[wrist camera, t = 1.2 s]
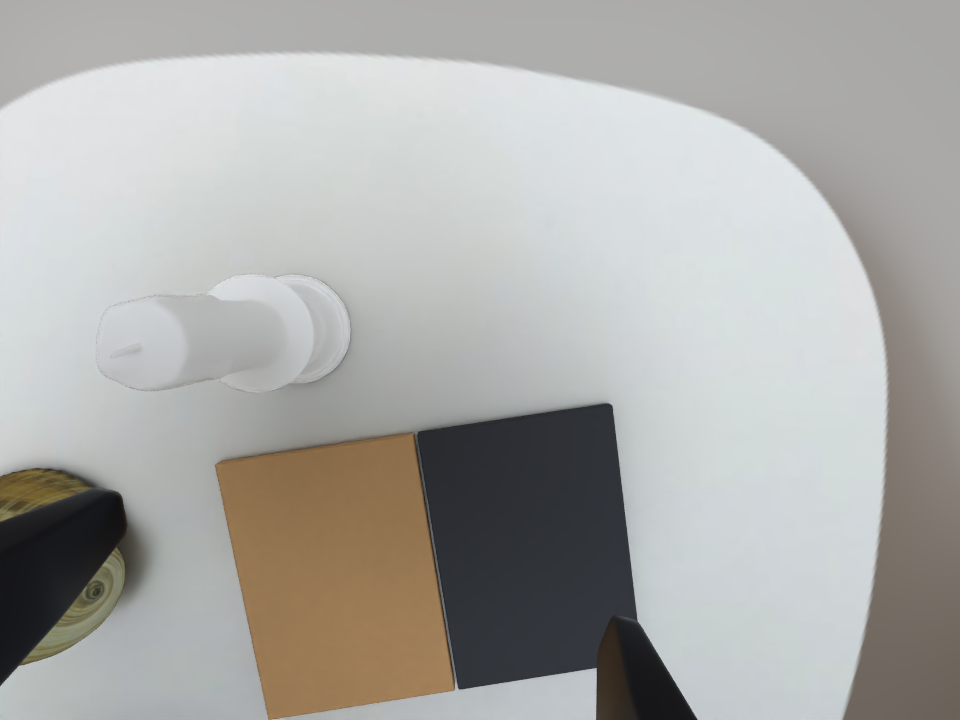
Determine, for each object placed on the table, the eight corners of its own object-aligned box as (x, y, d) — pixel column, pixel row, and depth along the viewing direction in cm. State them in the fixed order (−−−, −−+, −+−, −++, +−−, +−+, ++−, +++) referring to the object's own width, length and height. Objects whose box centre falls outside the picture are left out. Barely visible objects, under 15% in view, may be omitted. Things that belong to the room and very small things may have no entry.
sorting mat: (272, 710, 26) (268, 720, 25) (220, 460, 24) (214, 464, 24) (638, 653, 26) (642, 661, 25) (609, 402, 24) (612, 405, 24)
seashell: (53, 518, 28) (-61, 677, 23) (-64, 452, 23) (-246, 635, 18) (198, 514, 27) (113, 685, 21) (106, 443, 22) (-36, 641, 16)
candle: (283, 403, 24) (101, 494, 12) (220, 312, 23) (-36, 313, 11) (372, 346, 24) (279, 381, 12) (311, 253, 23) (149, 192, 11)
